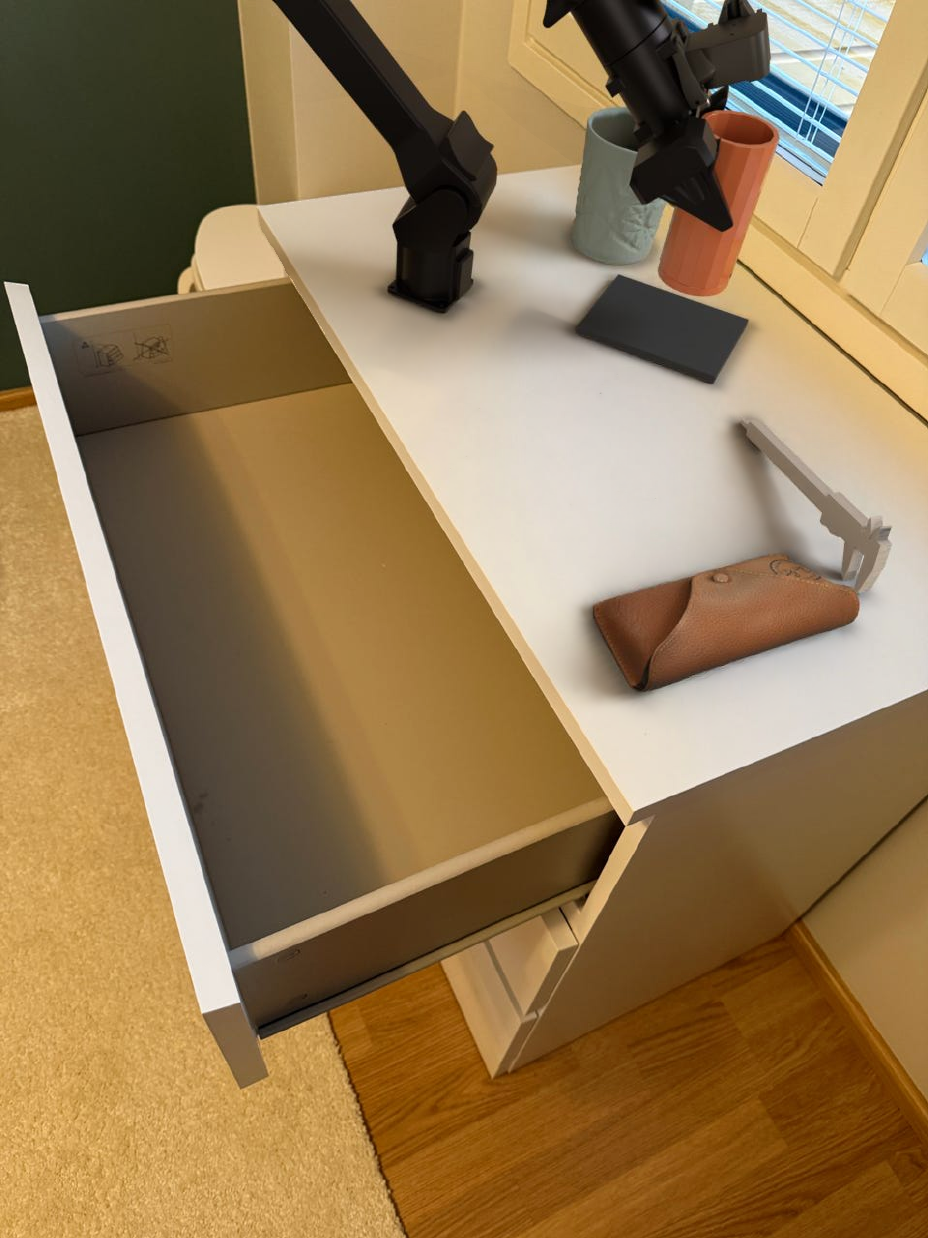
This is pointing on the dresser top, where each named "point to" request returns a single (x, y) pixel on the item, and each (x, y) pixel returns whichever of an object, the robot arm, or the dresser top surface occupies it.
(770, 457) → the caliper
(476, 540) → the dresser top surface
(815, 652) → the dresser top surface
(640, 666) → the sunglasses case
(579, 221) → the green ceramic pot
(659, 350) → the mat
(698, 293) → the crock
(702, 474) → the dresser top surface
